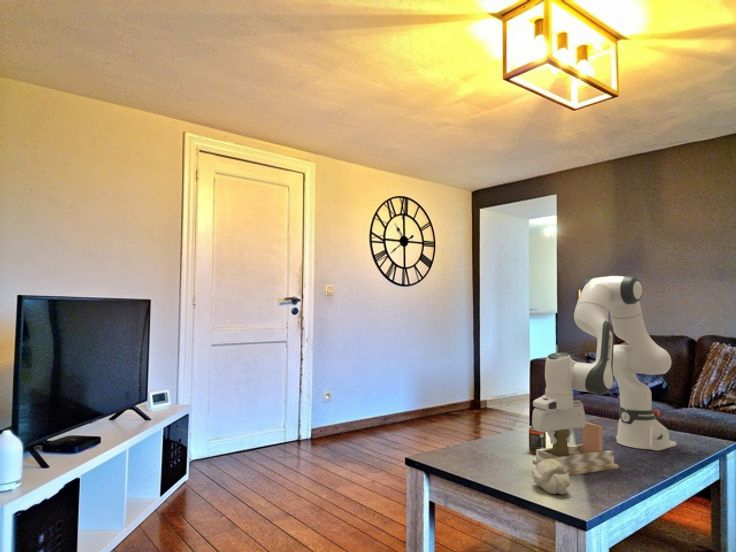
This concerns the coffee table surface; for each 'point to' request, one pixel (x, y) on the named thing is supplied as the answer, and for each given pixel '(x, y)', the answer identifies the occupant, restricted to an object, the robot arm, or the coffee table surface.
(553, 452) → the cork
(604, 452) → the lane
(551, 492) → the fossil replica
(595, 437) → the block
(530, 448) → the supplement bottle
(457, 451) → the coffee table surface
